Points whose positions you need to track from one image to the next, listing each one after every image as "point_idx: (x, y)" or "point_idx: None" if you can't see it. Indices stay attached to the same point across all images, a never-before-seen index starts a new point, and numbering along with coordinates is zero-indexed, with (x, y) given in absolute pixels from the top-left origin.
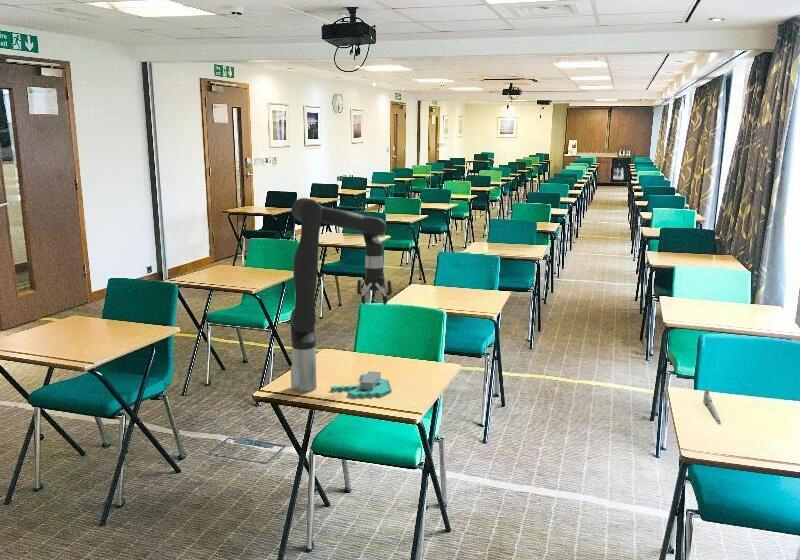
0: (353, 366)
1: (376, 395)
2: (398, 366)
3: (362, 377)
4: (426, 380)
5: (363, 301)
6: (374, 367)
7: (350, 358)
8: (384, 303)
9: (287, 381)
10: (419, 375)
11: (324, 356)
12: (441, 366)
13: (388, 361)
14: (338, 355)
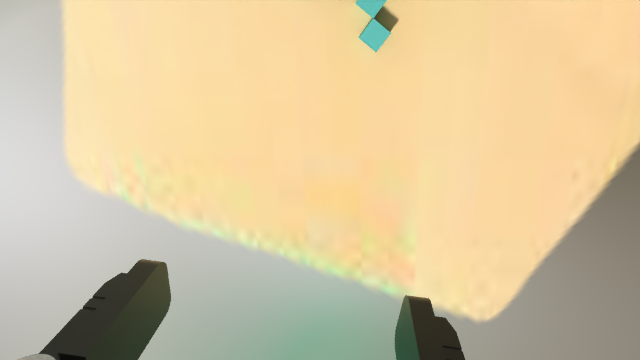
0: (413, 172)
1: None
2: (253, 170)
3: (381, 2)
4: (130, 17)
5: (430, 325)
6: (336, 161)
7: (421, 248)
8: (139, 270)
9: None
10: (167, 75)
11: (510, 269)
12: (113, 168)
13: (291, 218)
14: (460, 275)
